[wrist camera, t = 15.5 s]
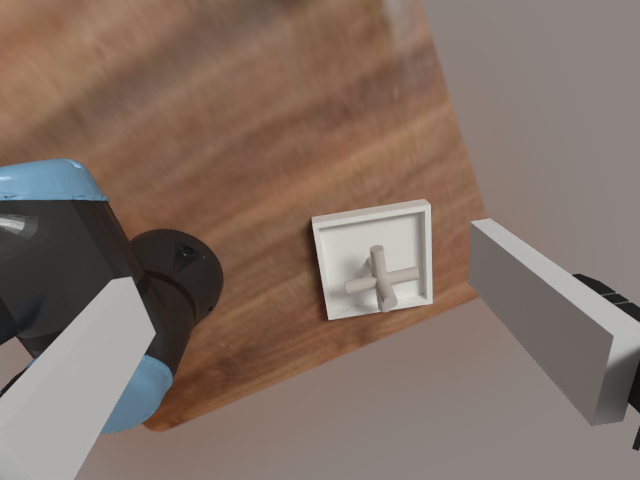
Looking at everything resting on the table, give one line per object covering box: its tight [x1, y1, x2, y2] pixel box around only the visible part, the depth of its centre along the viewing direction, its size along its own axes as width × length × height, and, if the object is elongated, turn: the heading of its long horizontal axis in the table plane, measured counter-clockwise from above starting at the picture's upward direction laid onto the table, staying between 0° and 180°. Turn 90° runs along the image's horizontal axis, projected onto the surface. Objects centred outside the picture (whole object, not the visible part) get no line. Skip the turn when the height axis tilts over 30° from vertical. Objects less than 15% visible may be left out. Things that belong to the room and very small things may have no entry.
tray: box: [311, 199, 433, 320], centre depth 52 cm, size 16×16×2 cm
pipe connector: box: [344, 245, 419, 312], centre depth 48 cm, size 10×10×10 cm
